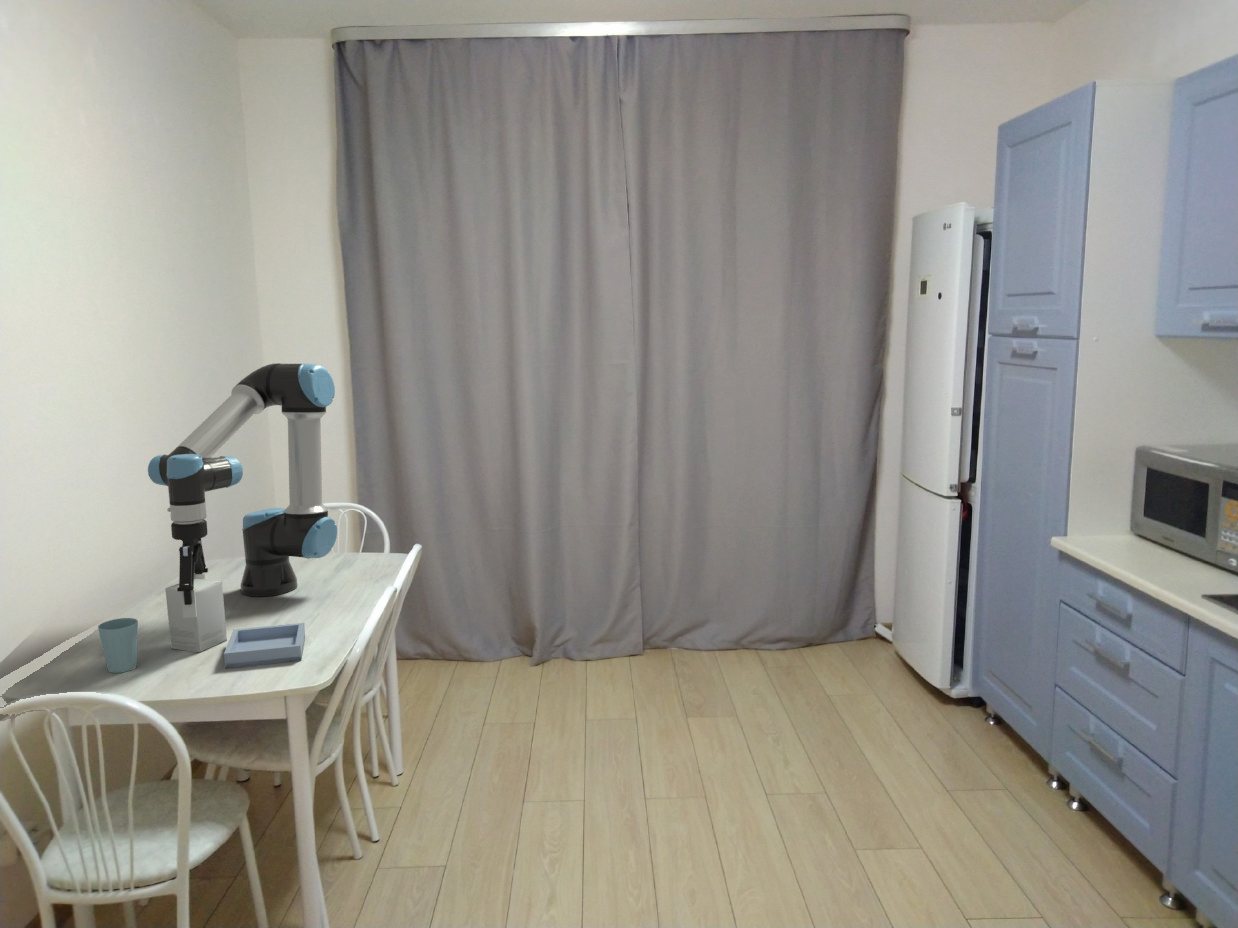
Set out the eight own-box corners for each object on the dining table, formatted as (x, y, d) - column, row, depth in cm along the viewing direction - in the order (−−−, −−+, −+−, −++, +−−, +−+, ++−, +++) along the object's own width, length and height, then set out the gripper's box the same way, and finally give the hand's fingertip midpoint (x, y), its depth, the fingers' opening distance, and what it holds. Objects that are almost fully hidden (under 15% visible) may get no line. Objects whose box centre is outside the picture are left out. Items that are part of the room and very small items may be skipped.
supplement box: (228, 640, 212) (223, 580, 210) (200, 653, 204) (194, 591, 201) (199, 635, 215) (194, 577, 213) (169, 648, 207) (164, 587, 204)
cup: (99, 667, 196) (94, 622, 194) (137, 658, 200) (133, 615, 199) (106, 677, 190) (101, 632, 188) (145, 668, 195) (141, 624, 193)
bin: (234, 643, 210) (233, 629, 209) (305, 636, 214) (304, 622, 214) (225, 668, 195) (223, 653, 194) (301, 660, 199) (300, 645, 199)
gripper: (181, 511, 215) (187, 594, 218) (159, 533, 192) (167, 626, 195) (214, 509, 217) (220, 592, 221) (197, 531, 194) (203, 623, 197)
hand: (195, 608), depth 208 cm, fingers open, 13 cm apart
